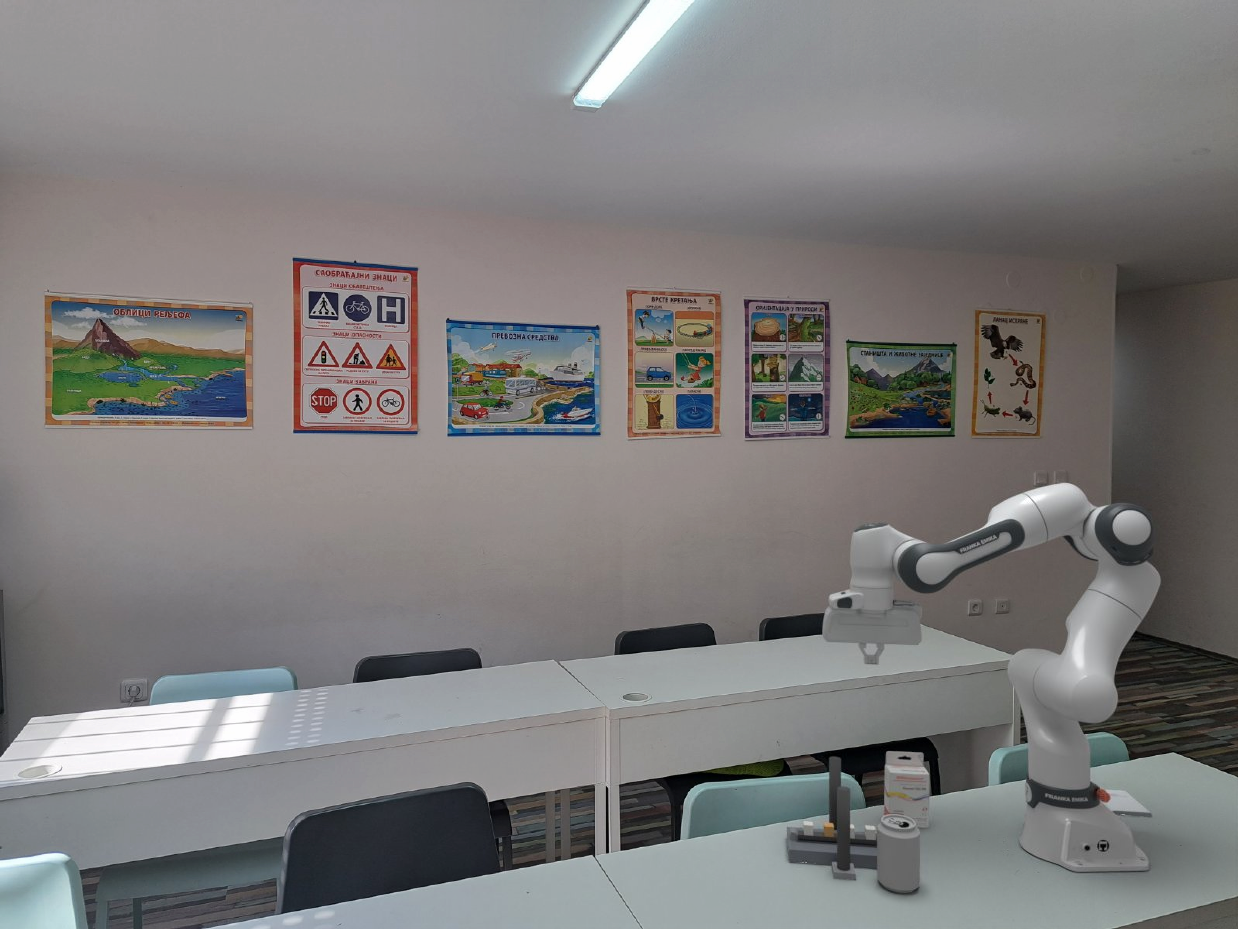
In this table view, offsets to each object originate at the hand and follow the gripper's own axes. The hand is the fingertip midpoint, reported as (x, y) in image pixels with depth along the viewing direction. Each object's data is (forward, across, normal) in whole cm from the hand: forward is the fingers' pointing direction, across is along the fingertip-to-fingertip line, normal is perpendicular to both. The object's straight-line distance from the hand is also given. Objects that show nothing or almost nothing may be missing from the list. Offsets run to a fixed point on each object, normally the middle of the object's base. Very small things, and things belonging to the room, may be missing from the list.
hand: (871, 664), depth 175 cm
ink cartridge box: (+35, -8, -4) cm, 36 cm away
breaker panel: (+35, +8, +13) cm, 38 cm away
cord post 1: (+35, +8, +5) cm, 36 cm away
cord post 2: (+35, +8, +21) cm, 42 cm away
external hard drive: (+36, -58, -22) cm, 72 cm away
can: (+35, -2, +23) cm, 42 cm away
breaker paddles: (+32, +8, +13) cm, 35 cm away
